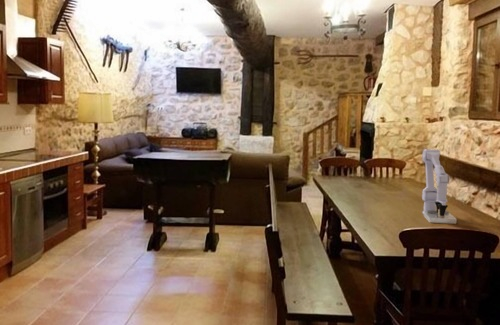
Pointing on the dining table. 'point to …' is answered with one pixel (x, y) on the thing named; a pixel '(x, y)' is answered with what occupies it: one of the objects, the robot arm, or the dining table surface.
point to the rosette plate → (433, 217)
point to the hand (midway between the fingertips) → (440, 214)
